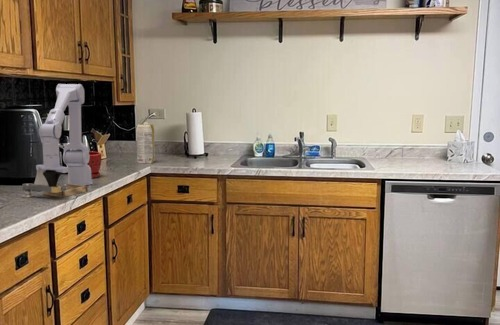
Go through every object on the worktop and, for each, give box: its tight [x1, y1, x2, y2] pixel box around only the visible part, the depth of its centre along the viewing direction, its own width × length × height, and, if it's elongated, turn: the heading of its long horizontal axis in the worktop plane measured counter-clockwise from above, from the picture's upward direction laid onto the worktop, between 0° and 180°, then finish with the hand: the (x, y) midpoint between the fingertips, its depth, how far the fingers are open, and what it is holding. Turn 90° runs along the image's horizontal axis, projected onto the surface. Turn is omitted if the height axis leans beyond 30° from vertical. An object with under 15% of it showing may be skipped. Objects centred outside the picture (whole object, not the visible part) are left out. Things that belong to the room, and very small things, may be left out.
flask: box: [31, 170, 48, 192], centre depth 192 cm, size 7×7×10 cm
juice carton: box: [136, 122, 156, 165], centre depth 272 cm, size 9×8×24 cm
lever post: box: [21, 190, 35, 198], centre depth 180 cm, size 4×4×3 cm
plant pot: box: [87, 150, 102, 179], centre depth 223 cm, size 13×13×12 cm
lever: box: [21, 182, 62, 193], centre depth 178 cm, size 16×4×2 cm, turn 72°
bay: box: [42, 183, 89, 198], centre depth 187 cm, size 13×10×2 cm
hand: (52, 189), depth 179 cm, fingers closed, pressing on lever
